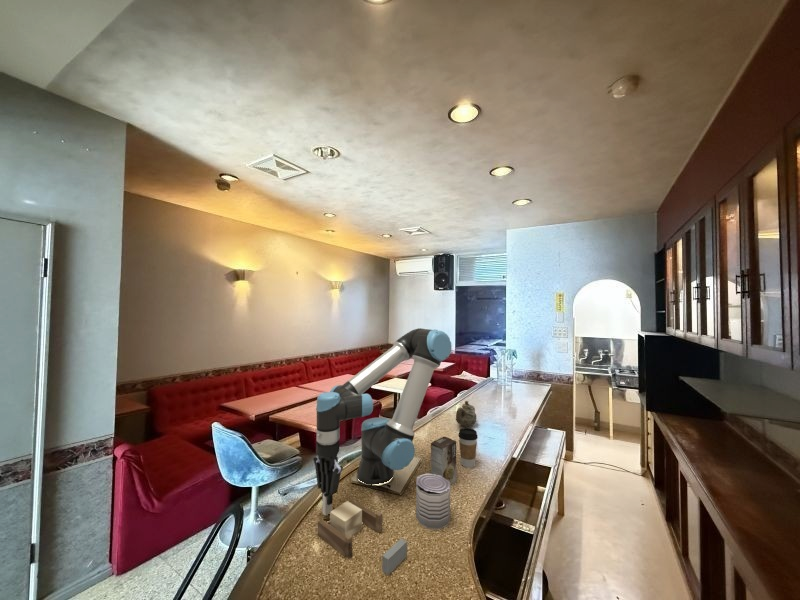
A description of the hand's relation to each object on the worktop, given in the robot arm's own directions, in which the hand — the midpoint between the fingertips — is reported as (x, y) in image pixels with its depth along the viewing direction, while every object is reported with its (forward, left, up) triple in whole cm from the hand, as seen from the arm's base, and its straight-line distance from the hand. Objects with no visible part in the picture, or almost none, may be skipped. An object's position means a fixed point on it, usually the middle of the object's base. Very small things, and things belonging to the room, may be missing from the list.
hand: (327, 512), depth 102 cm
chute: (0, +11, -1) cm, 11 cm away
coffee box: (-42, +19, -2) cm, 46 cm away
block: (0, +9, -2) cm, 9 cm away
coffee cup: (-61, +20, -2) cm, 64 cm away
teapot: (-100, -1, -2) cm, 100 cm away
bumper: (0, +29, -1) cm, 29 cm away
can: (-22, +27, -2) cm, 35 cm away
